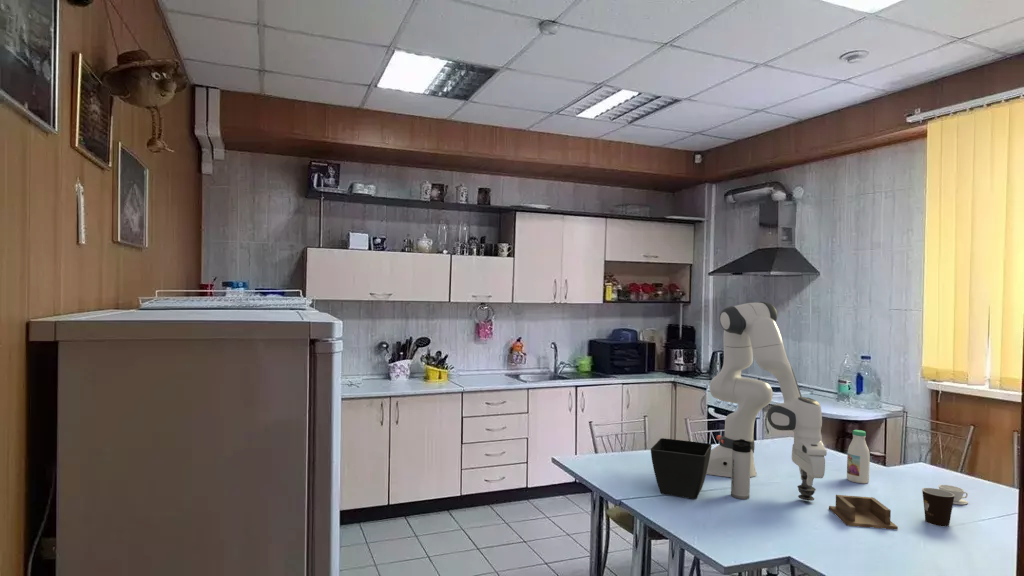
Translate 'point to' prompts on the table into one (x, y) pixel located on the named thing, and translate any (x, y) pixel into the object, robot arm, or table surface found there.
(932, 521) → the coffee mug
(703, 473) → the flower pot
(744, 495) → the travel mug
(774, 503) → the table surface
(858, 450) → the milk bottle
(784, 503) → the table surface
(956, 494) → the teacup
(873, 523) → the u-rest
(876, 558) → the table surface
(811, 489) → the grey chess piece
